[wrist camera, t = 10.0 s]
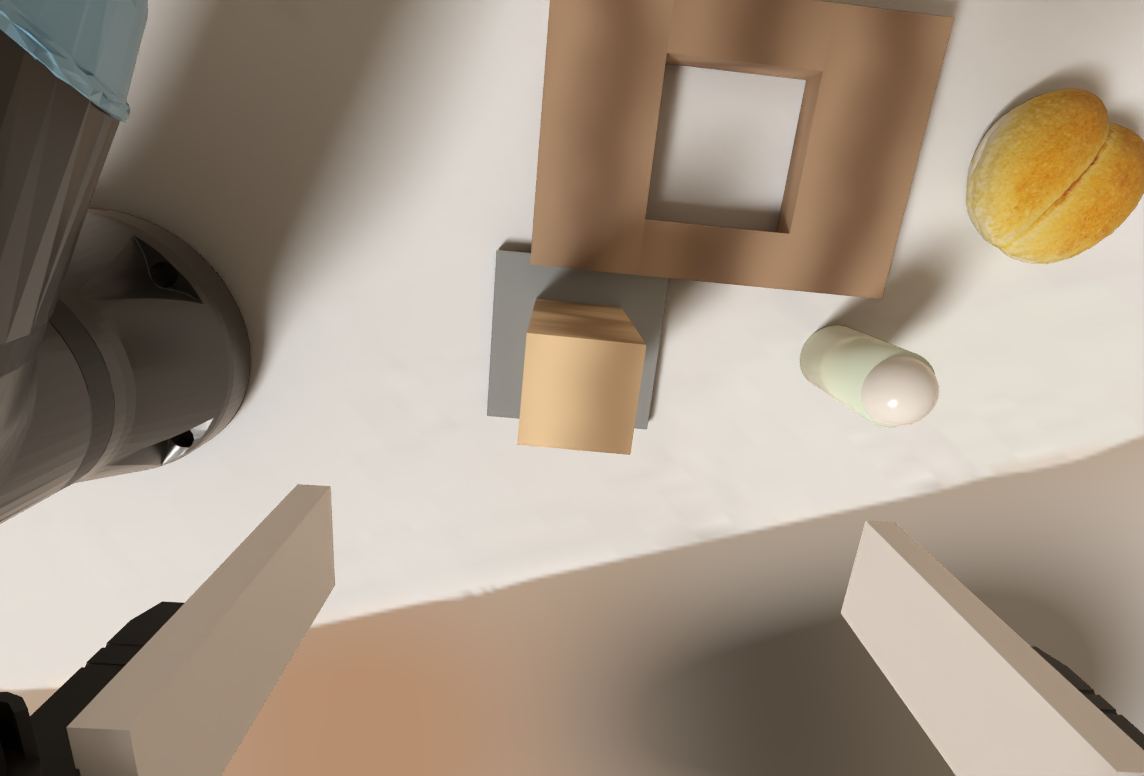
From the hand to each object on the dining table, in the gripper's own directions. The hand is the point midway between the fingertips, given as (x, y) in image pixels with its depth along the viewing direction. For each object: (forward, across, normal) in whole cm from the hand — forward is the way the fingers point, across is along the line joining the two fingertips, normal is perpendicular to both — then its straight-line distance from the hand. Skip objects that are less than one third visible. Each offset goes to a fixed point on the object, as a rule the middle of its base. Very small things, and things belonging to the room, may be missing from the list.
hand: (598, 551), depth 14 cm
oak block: (+21, 0, 0) cm, 21 cm away
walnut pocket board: (+22, +7, +12) cm, 26 cm away
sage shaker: (+22, +16, +1) cm, 27 cm away
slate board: (+22, 0, 0) cm, 22 cm away
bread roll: (+22, +26, +12) cm, 36 cm away
